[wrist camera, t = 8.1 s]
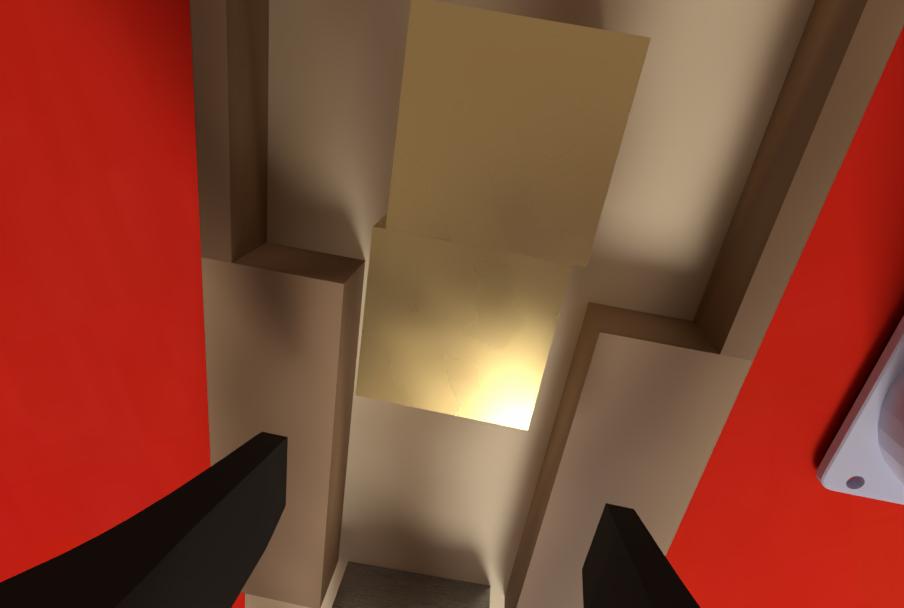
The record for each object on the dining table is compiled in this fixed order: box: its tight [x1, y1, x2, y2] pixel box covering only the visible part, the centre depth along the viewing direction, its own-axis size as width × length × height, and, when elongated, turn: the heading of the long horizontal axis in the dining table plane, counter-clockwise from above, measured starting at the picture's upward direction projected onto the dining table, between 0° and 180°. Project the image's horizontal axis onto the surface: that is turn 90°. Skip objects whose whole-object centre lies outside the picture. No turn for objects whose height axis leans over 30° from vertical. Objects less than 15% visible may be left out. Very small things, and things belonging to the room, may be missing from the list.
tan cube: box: [356, 214, 573, 430], centre depth 12 cm, size 4×4×4 cm
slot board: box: [190, 0, 904, 608], centre depth 15 cm, size 14×28×3 cm, turn 171°
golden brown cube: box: [386, 0, 651, 267], centre depth 11 cm, size 4×4×4 cm
